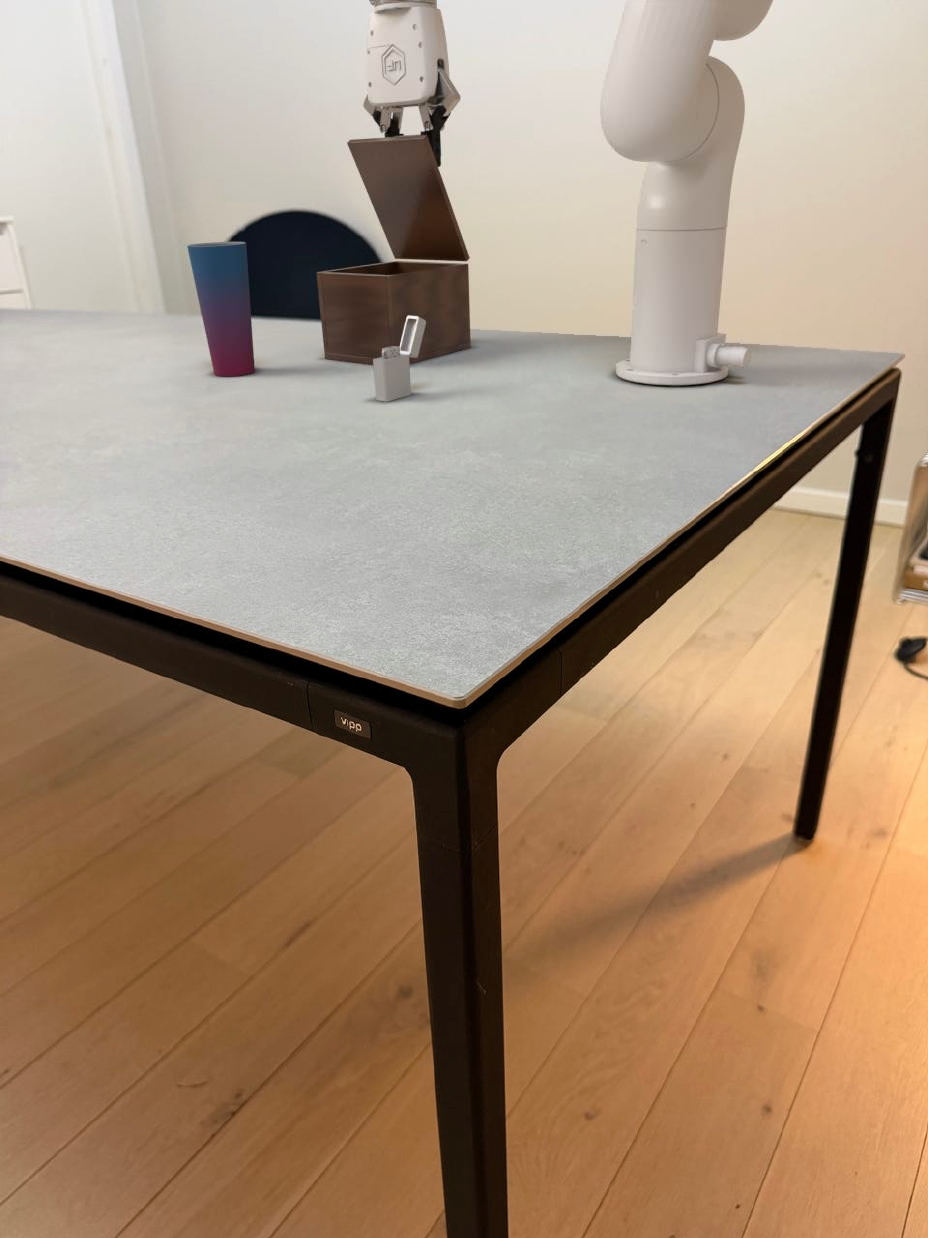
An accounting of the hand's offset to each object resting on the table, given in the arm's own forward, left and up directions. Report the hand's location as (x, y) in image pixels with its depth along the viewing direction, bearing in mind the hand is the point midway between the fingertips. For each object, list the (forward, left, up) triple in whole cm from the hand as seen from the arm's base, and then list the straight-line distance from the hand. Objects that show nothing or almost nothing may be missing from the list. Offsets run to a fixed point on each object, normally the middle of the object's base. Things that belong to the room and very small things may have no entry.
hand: (413, 165), depth 118 cm
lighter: (-17, +24, -23) cm, 37 cm away
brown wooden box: (0, +5, -23) cm, 23 cm away
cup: (+10, +25, -23) cm, 35 cm away
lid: (0, +2, -4) cm, 5 cm away
